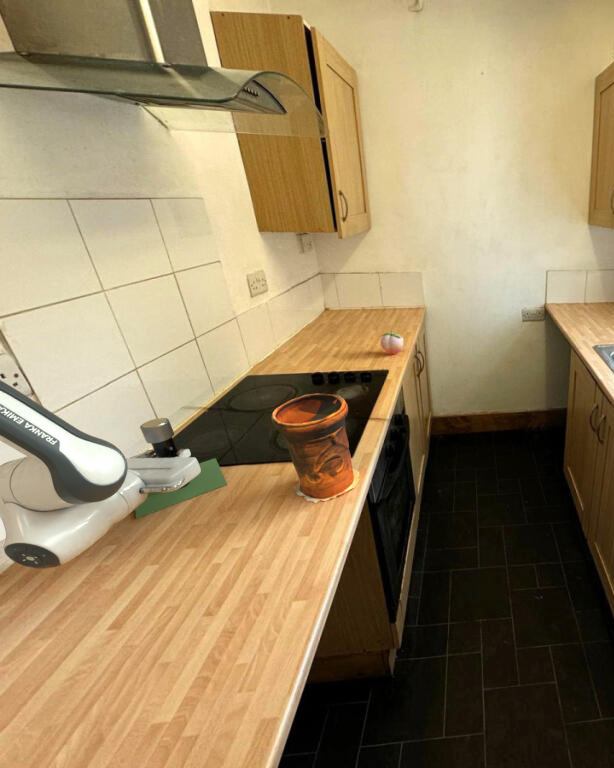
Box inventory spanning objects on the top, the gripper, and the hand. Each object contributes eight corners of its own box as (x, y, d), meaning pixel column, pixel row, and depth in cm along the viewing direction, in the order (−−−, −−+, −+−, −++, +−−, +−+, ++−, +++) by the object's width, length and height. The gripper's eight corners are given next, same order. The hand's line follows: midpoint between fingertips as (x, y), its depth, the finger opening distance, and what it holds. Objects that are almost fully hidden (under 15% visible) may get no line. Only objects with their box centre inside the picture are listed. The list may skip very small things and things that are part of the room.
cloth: (136, 518, 85) (136, 517, 85) (133, 486, 94) (132, 485, 94) (227, 484, 94) (226, 483, 94) (216, 458, 104) (215, 457, 104)
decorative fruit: (408, 351, 175) (406, 328, 171) (401, 358, 168) (398, 334, 164) (387, 350, 177) (384, 327, 173) (379, 357, 169) (375, 333, 165)
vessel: (312, 516, 85) (289, 431, 76) (282, 487, 93) (258, 408, 85) (374, 482, 95) (359, 404, 86) (342, 459, 103) (326, 386, 95)
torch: (168, 494, 91) (140, 431, 84) (166, 484, 94) (138, 422, 88) (194, 485, 94) (169, 423, 87) (191, 475, 97) (167, 415, 91)
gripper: (165, 478, 78) (213, 438, 90) (55, 480, 78) (118, 440, 90) (177, 504, 80) (221, 462, 93) (71, 506, 80) (129, 464, 93)
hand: (170, 451), depth 92 cm, fingers open, 6 cm apart
